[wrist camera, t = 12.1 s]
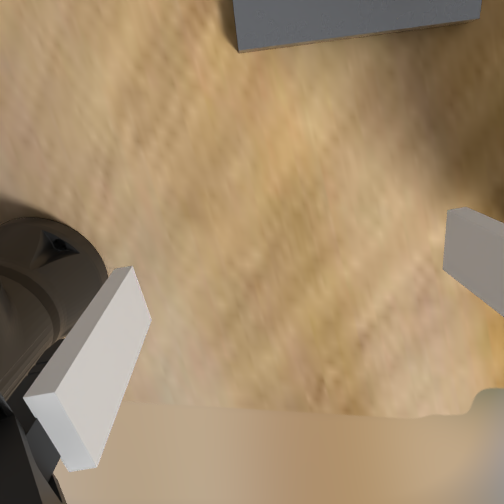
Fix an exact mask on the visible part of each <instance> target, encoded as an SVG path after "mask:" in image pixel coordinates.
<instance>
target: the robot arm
mask: <svg viewBox="0 0 504 504" xmlns="http://www.w3.org/2000/svg"><path fill="white" fill-rule="evenodd" d="M443 270H444V271H445V272H447V273H448V274H449V275H451V276H452V277H453V278H454V279H456V280H457V281H458V282H460V283H461V284H462V285H463V286H465V287H466V288H467V289H469V290H470V291H471V292H472V293H474V294H475V295H476V296H477V297H479V298H480V299H481V300H483V301H484V302H485V303H486V304H488V305H489V306H490V307H492V308H493V309H494V310H495V311H497V312H498V313H499V314H501V315H502V316H503V317H504V223H502V222H500V221H497V220H495V219H493V218H491V217H488V216H486V215H484V214H481V213H479V212H477V211H475V210H472V209H470V208H468V207H462V208H457V209H451V210H447V222H446V235H445V247H444V260H443ZM151 321H152V319H151V316H150V313H149V311H148V308H147V305H146V302H145V299H144V296H143V294H142V291H141V288H140V285H139V282H138V279H137V277H136V274H135V271H134V268H133V266H128V267H122V268H116V269H114V270H113V272H112V273H111V275H110V276H109V277H108V275H107V270H106V267H105V265H104V262H103V260H102V258H101V257H100V255H99V254H98V252H97V251H96V249H95V248H94V247H93V246H92V245H91V244H90V243H89V242H88V241H87V240H86V239H85V238H84V237H83V236H82V235H80V234H79V233H77V232H76V231H74V230H73V229H71V228H69V227H67V226H65V225H63V224H61V223H58V222H55V221H52V220H48V219H43V218H35V217H26V218H18V219H14V220H11V221H8V222H6V223H4V224H2V225H0V504H67V503H66V501H65V498H64V495H63V493H62V491H61V488H60V485H59V483H58V480H57V479H56V477H55V476H54V474H53V471H54V469H55V467H56V465H57V463H58V461H59V459H60V458H61V460H62V462H63V463H64V465H65V466H66V468H67V470H68V471H69V472H72V471H78V470H83V469H90V468H96V467H97V466H98V463H99V461H100V458H101V455H102V453H103V450H104V447H105V444H106V442H107V439H108V436H109V434H110V431H111V428H112V426H113V423H114V420H115V417H116V415H117V412H118V409H119V407H120V404H121V401H122V399H123V396H124V393H125V391H126V388H127V385H128V382H129V380H130V377H131V374H132V372H133V369H134V366H135V364H136V361H137V358H138V356H139V353H140V350H141V347H142V345H143V342H144V339H145V337H146V334H147V331H148V329H149V326H150V323H151ZM64 337H66V338H64ZM62 338H64V339H62Z"/></svg>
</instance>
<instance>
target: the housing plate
mask: <svg viewBox="0 0 504 504" xmlns="http://www.w3.org/2000/svg"><path fill="white" fill-rule="evenodd" d="M481 3H482V0H233V7H234V16H235V24H236V33H237V42H238V50H239V53H245V52H253V51H260V50H268V49H275V48H283V47H290V46H298V45H305V44H313V43H320V42H328V41H335V40H343V39H350V38H358V37H365V36H373V35H380V34H388V33H395V32H403V31H410V30H418V29H425V28H433V27H440V26H448V25H455V24H463V23H468V22H471V21H474V20H477V19H479V18H480V11H481Z"/></svg>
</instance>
